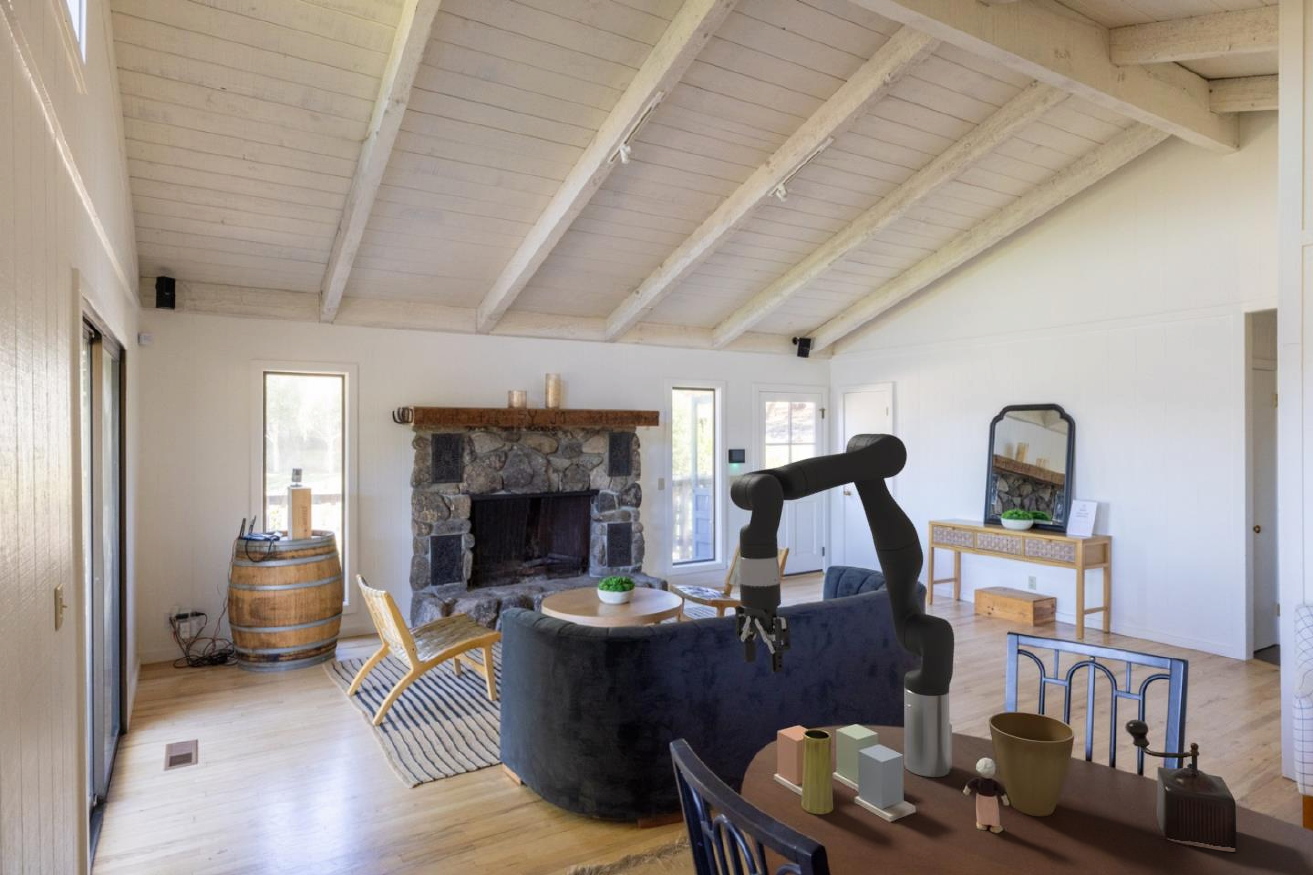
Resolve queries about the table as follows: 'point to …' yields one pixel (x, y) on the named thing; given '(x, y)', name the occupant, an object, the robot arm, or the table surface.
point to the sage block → (852, 748)
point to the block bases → (860, 799)
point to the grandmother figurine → (987, 796)
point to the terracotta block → (791, 753)
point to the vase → (817, 772)
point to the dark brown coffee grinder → (1190, 798)
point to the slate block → (880, 776)
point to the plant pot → (1032, 758)
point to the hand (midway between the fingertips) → (763, 666)
